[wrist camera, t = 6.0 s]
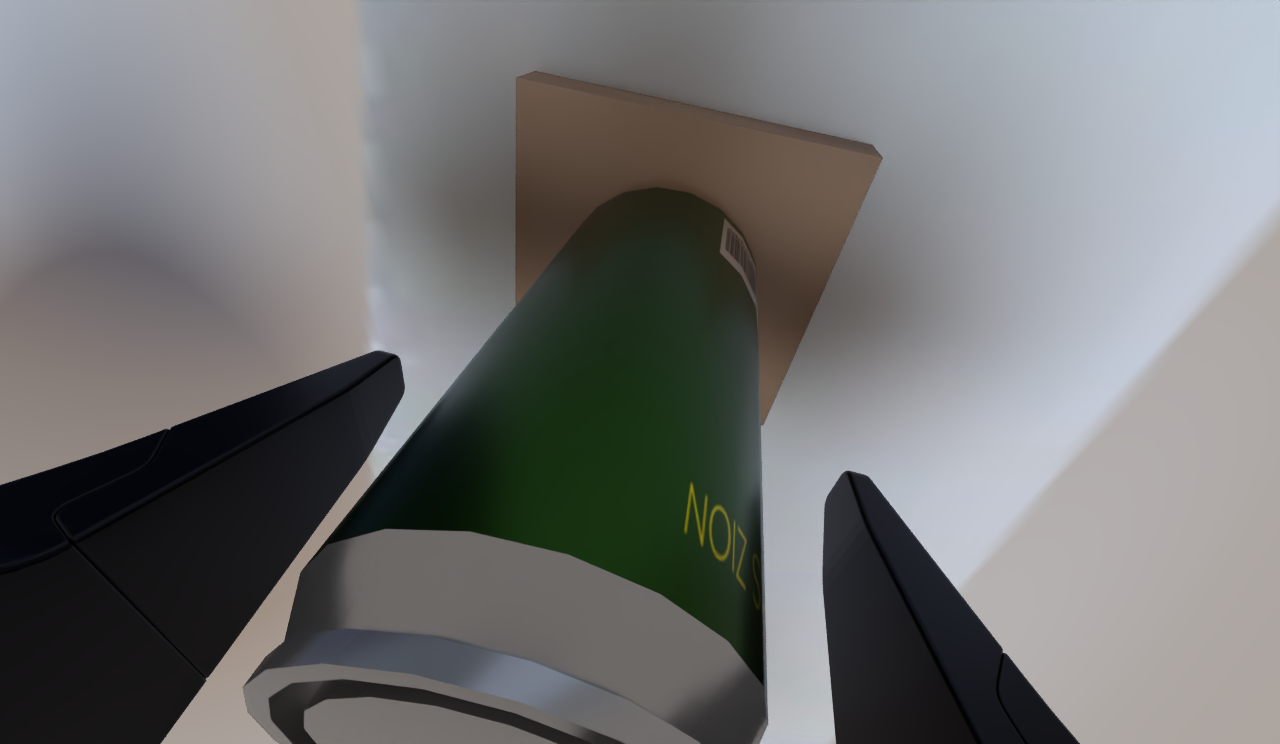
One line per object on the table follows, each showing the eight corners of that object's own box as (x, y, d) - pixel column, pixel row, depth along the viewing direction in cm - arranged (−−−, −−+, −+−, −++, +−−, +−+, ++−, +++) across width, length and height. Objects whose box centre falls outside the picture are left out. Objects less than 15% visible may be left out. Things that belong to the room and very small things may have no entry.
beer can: (684, 134, 12) (439, 578, 3) (793, 299, 14) (883, 897, 5) (537, 251, 15) (140, 692, 5) (646, 377, 17) (507, 864, 7)
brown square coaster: (762, 389, 19) (762, 425, 17) (534, 334, 19) (515, 364, 18) (867, 138, 13) (882, 157, 12) (543, 68, 14) (516, 77, 12)
